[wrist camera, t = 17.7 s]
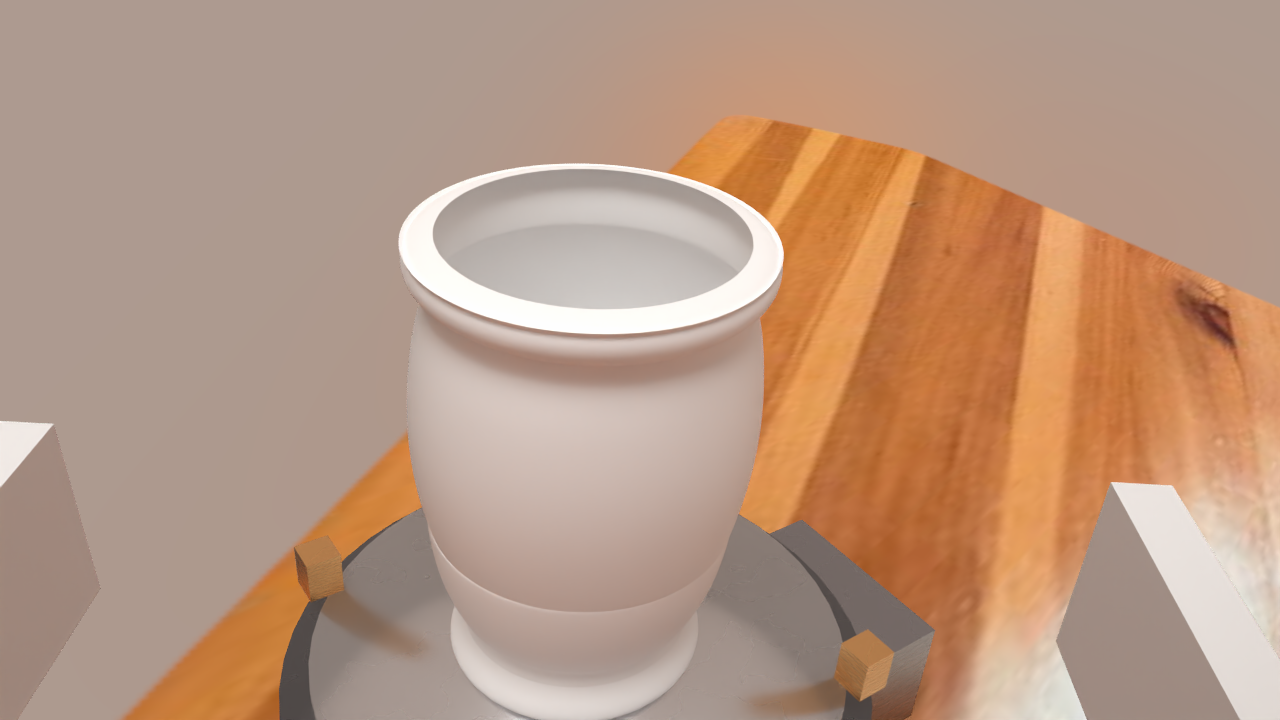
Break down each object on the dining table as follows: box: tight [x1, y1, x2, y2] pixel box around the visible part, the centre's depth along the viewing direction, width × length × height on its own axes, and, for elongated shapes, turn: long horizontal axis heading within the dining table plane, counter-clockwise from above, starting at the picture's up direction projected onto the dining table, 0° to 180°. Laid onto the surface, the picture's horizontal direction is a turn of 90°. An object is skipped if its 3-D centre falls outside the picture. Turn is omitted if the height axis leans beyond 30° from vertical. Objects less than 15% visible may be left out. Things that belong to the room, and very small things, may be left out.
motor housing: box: [279, 508, 935, 720], centre depth 41 cm, size 24×20×11 cm
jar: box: [399, 164, 784, 720], centre depth 34 cm, size 11×10×15 cm
